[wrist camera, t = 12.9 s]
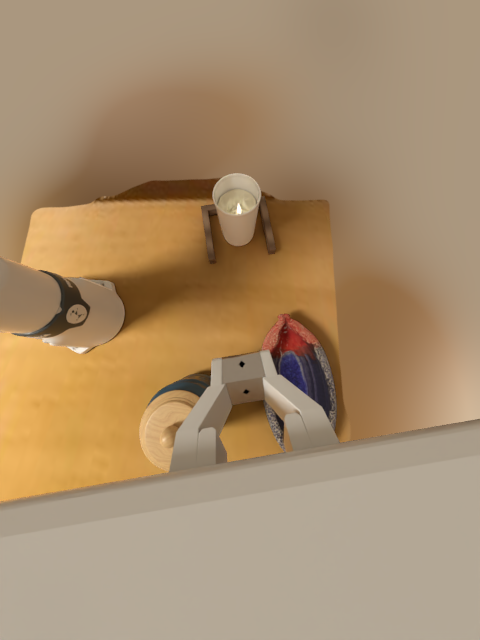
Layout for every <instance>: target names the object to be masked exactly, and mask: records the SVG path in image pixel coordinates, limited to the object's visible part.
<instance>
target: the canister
mask: <svg viewBox="0 0 480 640" xmlns="http://www.w3.org/2000/svg"><path fill="white" fill-rule="evenodd" d="M210 386H211V376H209V375H206V374H192V375H189V376H186V377H184V378H183V379H181V380H179V381H176V382H174V383H172V384H170V385H168V386H166V387H164V388H162V389H161V390H160V391H158V392H157V393H156V394H155V395H154V397H153V398H152V399H151V401H150V402H149V404H148V406H147V408H146V410H145V412H144V414H143V417H142V419H141V423H140V429H139V437H140V443H141V447H142V449H143V452H144V453H145V455H146V457H147V458H148V459H149V460H150V461H151V462H152V463H153V464H154V465H155V466H157V467H158V468H160V469H163V470H166V471H169V469H170V464H171V458H172V453H173V448H174V442H175V437H176V432H177V431H178V429H179V428H180V426H181V425H182V423H183V422H184V420H185V419H186V418H187V416H188V415H189V413H190V412H191V410H192V409H193V407H194V406H195V405H196V403H197V402H198V400H199V399H200V397H201V396H202V394H203V393H204V392H205V390H206V389H207V387H210Z"/></svg>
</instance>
